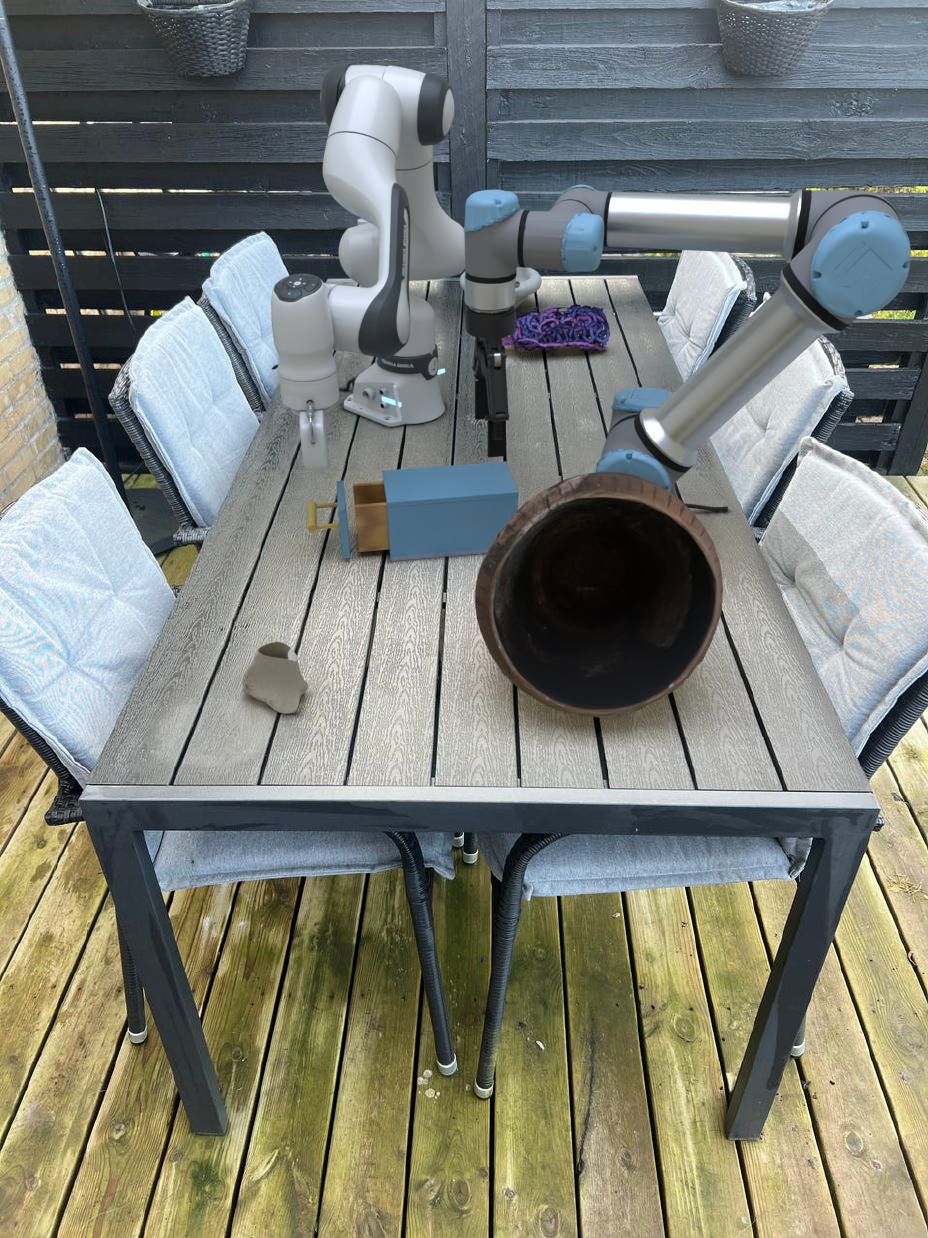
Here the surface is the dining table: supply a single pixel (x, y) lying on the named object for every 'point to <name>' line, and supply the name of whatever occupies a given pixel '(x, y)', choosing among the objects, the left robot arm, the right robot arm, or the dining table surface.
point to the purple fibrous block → (560, 329)
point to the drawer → (358, 517)
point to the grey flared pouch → (275, 678)
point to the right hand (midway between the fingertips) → (489, 436)
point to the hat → (528, 283)
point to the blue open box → (447, 509)
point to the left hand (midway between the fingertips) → (319, 469)
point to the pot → (600, 594)
